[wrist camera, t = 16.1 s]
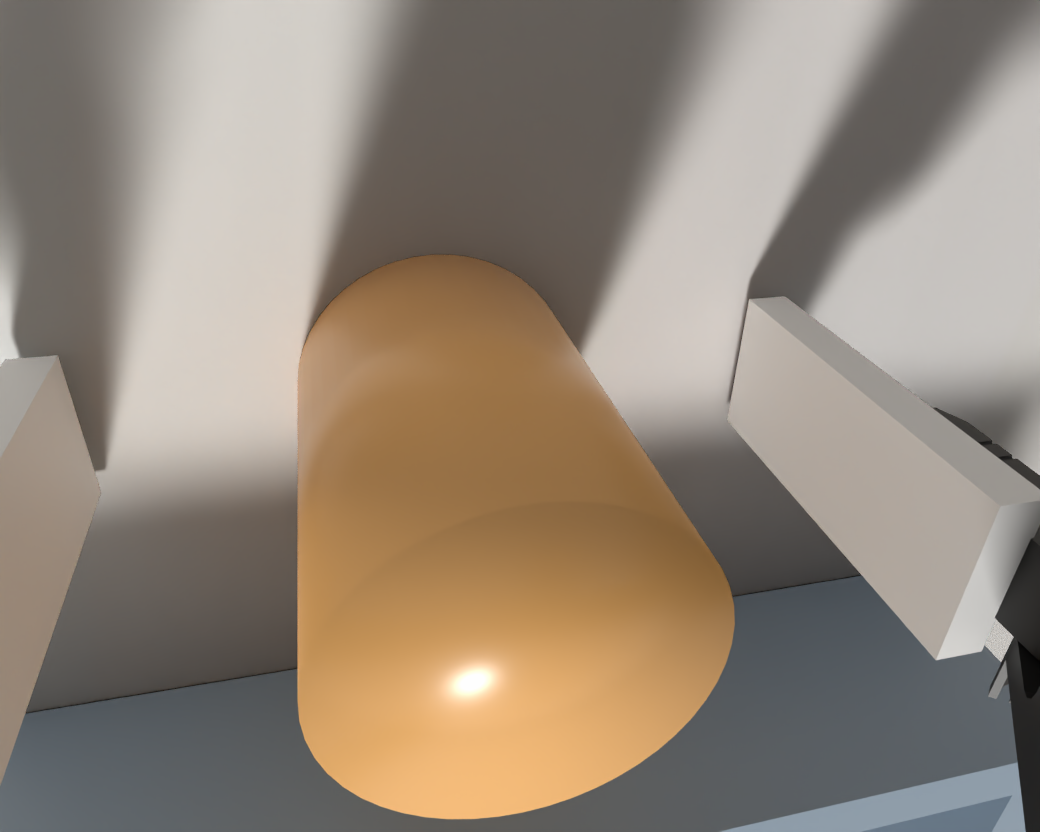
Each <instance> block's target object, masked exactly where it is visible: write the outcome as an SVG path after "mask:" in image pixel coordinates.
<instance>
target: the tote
mask: <svg viewBox="0 0 1040 832" xmlns="http://www.w3.org/2000/svg"><path fill="white" fill-rule="evenodd" d="M732 598H733V602H734V616H735V626H734V633H733V640H732V646H731V649H730V652H729V655H728V659H727V662H726V665H725V667H724V669H723V671H722V673H721V675H720V677H719V680H718V682H717V683H716V685H715V687H714V688H713V690H712V691H711V693H710V695H709V696H708V698H707V699H706V701H705V702H704V703H703V705H702V706H701V707H700V708H699V710H698V711H697V712H696V714H695V715H694V716H693V717H692V718H691V720H690V721H689V722H688V723H687V724H686V725H685V726H684V727H683V728H682V729H681V730H680V731H679V732H678V733H677V734H676V735H675V736H674V737H673V738H671V739H670V740H669V741H668V742H667V743H666V744H664V745H663V746H662V747H661V748H660V749H659V750H657V751H656V752H655V753H653V754H652V755H650V756H649V757H648V758H646V759H645V760H644V761H642V762H641V763H639V764H638V765H636V766H635V767H633V768H631V769H630V770H628V771H626V772H625V773H623V774H622V775H620V776H618V777H617V778H615V779H613V780H611V781H609V782H607V783H605V784H603V785H601V786H599V787H597V788H595V789H592V790H590V791H588V792H585V793H583V794H581V795H578V796H576V797H573V798H571V799H568V800H565V801H562V802H559V803H556V804H553V805H550V806H547V807H543V808H539V809H535V810H531V811H527V812H523V813H517V814H511V815H505V816H500V817H490V818H479V819H440V818H428V817H421V816H416V815H410V814H405V813H400V812H397V811H394V810H390V809H387V808H384V807H380V806H378V805H376V804H374V803H371V802H369V801H367V800H364V799H362V798H360V797H358V796H357V795H355V794H354V793H352V792H350V791H349V790H347V789H345V788H344V787H342V786H341V785H340V784H339V783H338V782H337V781H335V780H334V779H333V778H332V777H331V776H330V775H328V774H327V773H326V771H325V770H324V769H323V768H322V767H321V765H320V764H319V763H318V762H317V760H316V759H315V758H314V756H313V754H312V752H311V751H310V749H309V747H308V745H307V743H306V741H305V739H304V735H303V732H302V729H301V725H300V722H299V712H298V669H294V670H288V671H282V672H275V673H269V674H263V675H257V676H251V677H245V678H239V679H233V680H227V681H221V682H215V683H209V684H203V685H197V686H191V687H185V688H179V689H173V690H166V691H160V692H154V693H148V694H142V695H136V696H130V697H124V698H118V699H112V700H106V701H100V702H94V703H88V704H82V705H76V706H70V707H63V708H57V709H51V710H45V711H39V712H33V713H27V714H25V716H24V718H23V721H22V724H21V727H20V730H19V733H18V736H17V739H16V742H15V745H14V747H13V750H12V753H11V756H10V759H9V762H8V765H7V768H6V771H5V774H4V777H3V779H2V782H1V785H0V832H1026V830H1025V821H1024V813H1023V804H1022V796H1021V787H1020V779H1019V770H1018V761H1017V753H1016V744H1015V736H1014V727H1013V719H1012V710H1011V703H1009V700H1010V693H1009V684H1008V685H1006V686H1004V687H1002V689H1001V691H1000V693H999V695H998V697H997V699H995V698H991V697H988V693H989V689H990V685H991V683H992V681H993V679H994V677H995V675H996V673H997V671H998V669H999V667H1000V664H1001V662H1000V661H999V660H998V659H997V658H996V657H995V656H994V655H993V654H992V653H991V652H990V651H989V650H988V649H987V648H986V647H985V645H984V647H983V650H982V651H981V652H976V653H971V654H966V655H961V656H956V657H950V658H945V659H940V660H935V659H934V658H933V657H932V655H931V654H930V653H929V652H928V651H927V650H926V648H925V647H924V646H923V645H922V644H921V643H920V642H919V640H918V639H917V638H916V637H915V636H914V635H913V634H912V632H911V631H910V630H909V629H908V628H907V627H906V626H905V624H904V623H903V622H902V621H901V620H900V619H899V617H898V616H897V615H896V614H895V613H894V612H893V611H892V609H891V608H890V607H889V606H888V605H887V604H886V603H885V601H884V600H883V599H882V598H881V597H880V596H879V594H878V593H877V592H876V591H875V590H874V589H873V588H872V586H871V585H870V584H869V583H868V582H867V581H866V580H865V578H864V577H863V576H857V577H851V578H845V579H839V580H833V581H827V582H821V583H815V584H808V585H802V586H796V587H790V588H784V589H778V590H772V591H766V592H760V593H754V594H748V595H742V596H736V597H732Z"/></svg>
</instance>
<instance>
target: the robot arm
mask: <svg viewBox="0 0 1040 832" xmlns="http://www.w3.org/2000/svg"><path fill="white" fill-rule="evenodd" d="M727 421H728V422H729V423H730V424H731V426H732V427H733V428H734V429H735V430H736V431H737V432H738V434H739V435H740V436H741V437H742V438H743V439H744V441H745V442H746V443H747V444H748V445H749V446H750V447H751V449H752V450H753V451H754V452H755V453H756V454H757V455H758V457H759V458H760V459H761V460H762V461H763V462H764V464H765V465H766V466H767V467H768V468H769V469H770V470H771V472H772V473H773V474H774V475H775V476H776V477H777V478H778V480H779V481H780V482H781V483H782V484H783V485H784V486H785V488H786V489H787V490H788V491H789V492H790V493H791V495H792V496H793V497H794V498H795V499H796V500H797V501H798V503H799V504H800V505H801V506H802V507H803V508H804V509H805V511H806V512H807V513H808V514H809V515H810V516H811V518H812V519H813V520H814V521H815V522H816V523H817V524H818V526H819V527H820V528H821V529H822V530H823V531H824V532H825V534H826V535H827V536H828V537H829V538H830V539H831V540H832V542H833V543H834V544H835V545H836V546H837V547H838V549H839V550H840V551H841V552H842V553H843V554H844V555H845V557H846V558H847V559H848V560H849V561H850V562H851V563H852V565H853V566H854V567H855V568H856V569H857V570H858V572H859V573H860V574H861V575H862V576H863V577H864V578H865V580H866V581H867V582H868V583H869V584H870V585H871V586H872V588H873V589H874V590H875V591H876V592H877V593H878V594H879V596H880V597H881V598H882V599H883V600H884V601H885V603H886V604H887V605H888V606H889V607H890V608H891V609H892V611H893V612H894V613H895V614H896V615H897V616H898V617H899V619H900V620H901V621H902V622H903V623H904V624H905V626H906V627H907V628H908V629H909V630H910V631H911V632H912V634H913V635H914V636H915V637H916V638H917V639H918V640H919V642H920V643H921V644H922V645H923V646H924V647H925V648H926V650H927V651H928V652H929V653H930V654H931V655H932V657H933V658H934V659H935V660H940V659H945V658H950V657H956V656H961V655H966V654H971V653H976V652H981V651H982V650H983V647H984V645H985V643H986V641H987V639H988V636H989V634H990V632H991V630H992V628H993V626H994V623H995V621H996V619H997V620H998V621H999V622H1000V623H1001V624H1002V625H1003V626H1004V627H1005V628H1006V629H1007V630H1008V631H1009V632H1010V633H1011V634H1012V635H1013V636H1014V638H1013V640H1012V642H1011V644H1010V646H1009V648H1008V650H1007V652H1006V654H1005V656H1004V658H1003V660H1002V662H1001V664H1000V667H999V669H998V671H997V673H996V675H995V677H994V679H993V681H992V683H991V685H990V689H989V693H988V697H991V698H995V699H997V697H998V695H999V693H1000V691H1001V689H1002V687H1004V686H1006V685H1008V684H1009V693H1010V700H1009V703H1011V710H1012V719H1013V727H1014V736H1015V744H1016V753H1017V761H1018V770H1019V779H1020V787H1021V796H1022V804H1023V813H1024V821H1025V830H1026V832H1040V475H1038V474H1037V473H1035V472H1034V471H1033V470H1031V469H1030V468H1029V467H1027V466H1026V465H1025V464H1023V463H1022V462H1021V461H1019V460H1018V459H1012V455H1011V454H1010V453H1008V452H1007V451H1006V450H1004V449H1003V448H1002V447H1000V446H999V445H998V444H992V440H991V439H989V438H988V437H987V436H985V435H984V434H983V433H981V432H980V431H979V430H977V429H976V428H975V427H973V426H972V425H971V424H969V423H968V422H966V421H964V420H961V419H959V418H957V417H955V416H953V415H950V414H948V413H946V412H944V411H942V410H939V409H937V408H932V407H930V406H929V405H928V404H926V403H925V402H924V401H922V400H921V399H920V398H918V397H917V396H916V395H915V394H913V393H912V392H911V391H909V390H908V389H907V388H905V387H904V386H903V385H901V384H900V383H899V382H897V381H896V380H895V379H893V378H892V377H891V376H889V375H888V374H887V373H885V372H884V371H883V370H882V369H880V368H879V367H878V366H876V365H875V364H874V363H872V362H871V361H870V360H868V359H867V358H866V357H864V356H863V355H862V354H860V353H859V352H858V351H856V350H855V349H854V348H852V347H851V346H850V345H849V344H847V343H846V342H845V341H843V340H842V339H841V338H839V337H838V336H837V335H835V334H834V333H833V332H831V331H830V330H829V329H827V328H826V327H825V326H823V325H822V324H821V323H819V322H818V321H817V320H816V319H814V318H813V317H812V316H810V315H809V314H808V313H806V312H805V311H804V310H802V309H801V308H800V307H798V306H797V305H796V304H794V303H793V302H792V301H790V300H789V299H788V298H786V297H785V296H783V297H770V298H758V299H749V303H748V308H747V314H746V319H745V325H744V330H743V336H742V341H741V347H740V352H739V358H738V363H737V369H736V374H735V380H734V385H733V391H732V396H731V401H730V407H729V412H728V418H727ZM100 495H101V490H100V487H99V484H98V481H97V478H96V474H95V471H94V468H93V465H92V462H91V459H90V455H89V452H88V449H87V446H86V443H85V440H84V436H83V433H82V430H81V427H80V424H79V421H78V417H77V414H76V411H75V408H74V405H73V402H72V398H71V395H70V392H69V389H68V386H67V383H66V379H65V376H64V373H63V370H62V367H61V364H60V360H59V357H58V355H54V356H42V357H29V358H17V359H5V361H4V362H3V364H2V365H1V366H0V785H1V782H2V779H3V777H4V774H5V771H6V768H7V765H8V762H9V759H10V756H11V753H12V750H13V747H14V745H15V742H16V739H17V736H18V733H19V730H20V727H21V724H22V721H23V718H24V716H25V713H26V710H27V707H28V704H29V701H30V698H31V695H32V692H33V689H34V686H35V684H36V681H37V678H38V675H39V672H40V669H41V666H42V663H43V660H44V657H45V655H46V652H47V649H48V646H49V643H50V640H51V637H52V634H53V631H54V628H55V625H56V623H57V620H58V617H59V614H60V611H61V608H62V605H63V602H64V599H65V596H66V594H67V591H68V588H69V585H70V582H71V579H72V576H73V573H74V570H75V567H76V564H77V562H78V559H79V556H80V553H81V550H82V547H83V544H84V541H85V538H86V535H87V533H88V530H89V527H90V524H91V521H92V518H93V515H94V512H95V509H96V506H97V503H98V501H99V498H100Z"/></svg>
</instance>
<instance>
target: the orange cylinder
mask: <svg viewBox="0 0 1040 832" xmlns="http://www.w3.org/2000/svg"><path fill="white" fill-rule="evenodd" d="M734 626H735V616H734V602H733V598H732V593H731V589H730V586H729V583H728V581H727V579H726V576H725V574H724V572H723V570H722V568H721V566H720V565H719V563H718V562H717V560H716V559H715V557H714V556H713V554H712V553H711V551H710V550H709V548H708V547H707V545H706V544H705V542H704V541H703V539H702V538H701V536H700V535H699V533H698V532H697V530H696V529H695V527H694V526H693V524H692V523H691V521H690V519H689V518H688V516H687V515H686V513H685V512H684V510H683V509H682V507H681V506H680V504H679V503H678V501H677V500H676V498H675V497H674V495H673V494H672V492H671V491H670V489H669V488H668V486H667V485H666V483H665V482H664V480H663V479H662V477H661V476H660V474H659V473H658V471H657V470H656V468H655V467H654V465H653V464H652V462H651V461H650V459H649V457H648V456H647V454H646V453H645V451H644V450H643V448H642V447H641V445H640V444H639V442H638V441H637V439H636V438H635V436H634V435H633V433H632V432H631V430H630V429H629V427H628V426H627V424H626V423H625V421H624V420H623V418H622V417H621V415H620V414H619V412H618V411H617V409H616V408H615V406H614V405H613V403H612V402H611V400H610V399H609V397H608V396H607V394H606V392H605V391H604V389H603V388H602V386H601V385H600V383H599V382H598V380H597V379H596V377H595V376H594V374H593V373H592V371H591V370H590V368H589V367H588V365H587V364H586V362H585V361H584V359H583V358H582V356H581V355H580V353H579V352H578V350H577V349H576V347H575V346H574V344H573V343H572V341H571V340H570V338H569V337H568V335H567V334H566V332H565V330H564V329H563V327H562V326H561V324H560V323H559V321H558V320H557V318H556V317H555V315H554V314H553V312H552V311H551V309H550V308H549V307H548V305H547V304H546V302H545V301H544V299H543V298H542V297H541V296H540V295H539V294H538V293H537V292H536V291H535V290H534V289H533V288H532V287H531V286H530V285H528V284H527V283H526V282H525V281H523V280H522V279H521V278H520V277H518V276H516V275H515V274H513V273H511V272H509V271H508V270H506V269H504V268H502V267H499V266H497V265H495V264H492V263H490V262H487V261H483V260H480V259H476V258H472V257H466V256H459V255H425V256H417V257H411V258H407V259H403V260H399V261H396V262H393V263H390V264H388V265H385V266H382V267H380V268H377V269H375V270H373V271H372V272H370V273H368V274H366V275H364V276H362V277H361V278H359V279H358V280H356V281H355V282H353V283H352V284H351V285H349V286H348V287H347V288H345V289H344V290H343V291H342V292H341V293H340V294H339V295H338V296H336V297H335V298H334V299H333V300H332V301H331V302H330V303H329V305H328V306H327V307H326V308H325V310H324V311H323V312H322V313H321V315H320V316H319V317H318V319H317V321H316V322H315V324H314V326H313V327H312V329H311V331H310V333H309V335H308V337H307V340H306V342H305V345H304V347H303V351H302V355H301V359H300V363H299V371H298V712H299V722H300V725H301V729H302V732H303V735H304V739H305V741H306V743H307V745H308V747H309V749H310V751H311V752H312V754H313V756H314V758H315V759H316V760H317V762H318V763H319V764H320V765H321V767H322V768H323V769H324V770H325V771H326V773H327V774H328V775H330V776H331V777H332V778H333V779H334V780H335V781H337V782H338V783H339V784H340V785H341V786H342V787H344V788H345V789H347V790H349V791H350V792H352V793H354V794H355V795H357V796H358V797H360V798H362V799H364V800H367V801H369V802H371V803H374V804H376V805H378V806H380V807H384V808H387V809H390V810H394V811H397V812H400V813H405V814H410V815H416V816H421V817H428V818H440V819H479V818H490V817H500V816H505V815H511V814H517V813H523V812H527V811H531V810H535V809H539V808H543V807H547V806H550V805H553V804H556V803H559V802H562V801H565V800H568V799H571V798H573V797H576V796H578V795H581V794H583V793H585V792H588V791H590V790H592V789H595V788H597V787H599V786H601V785H603V784H605V783H607V782H609V781H611V780H613V779H615V778H617V777H618V776H620V775H622V774H623V773H625V772H626V771H628V770H630V769H631V768H633V767H635V766H636V765H638V764H639V763H641V762H642V761H644V760H645V759H646V758H648V757H649V756H650V755H652V754H653V753H655V752H656V751H657V750H659V749H660V748H661V747H662V746H663V745H664V744H666V743H667V742H668V741H669V740H670V739H671V738H673V737H674V736H675V735H676V734H677V733H678V732H679V731H680V730H681V729H682V728H683V727H684V726H685V725H686V724H687V723H688V722H689V721H690V720H691V718H692V717H693V716H694V715H695V714H696V712H697V711H698V710H699V708H700V707H701V706H702V705H703V703H704V702H705V701H706V699H707V698H708V696H709V695H710V693H711V691H712V690H713V688H714V687H715V685H716V683H717V682H718V680H719V677H720V675H721V673H722V671H723V669H724V667H725V665H726V662H727V659H728V655H729V652H730V649H731V646H732V640H733V633H734Z"/></svg>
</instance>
